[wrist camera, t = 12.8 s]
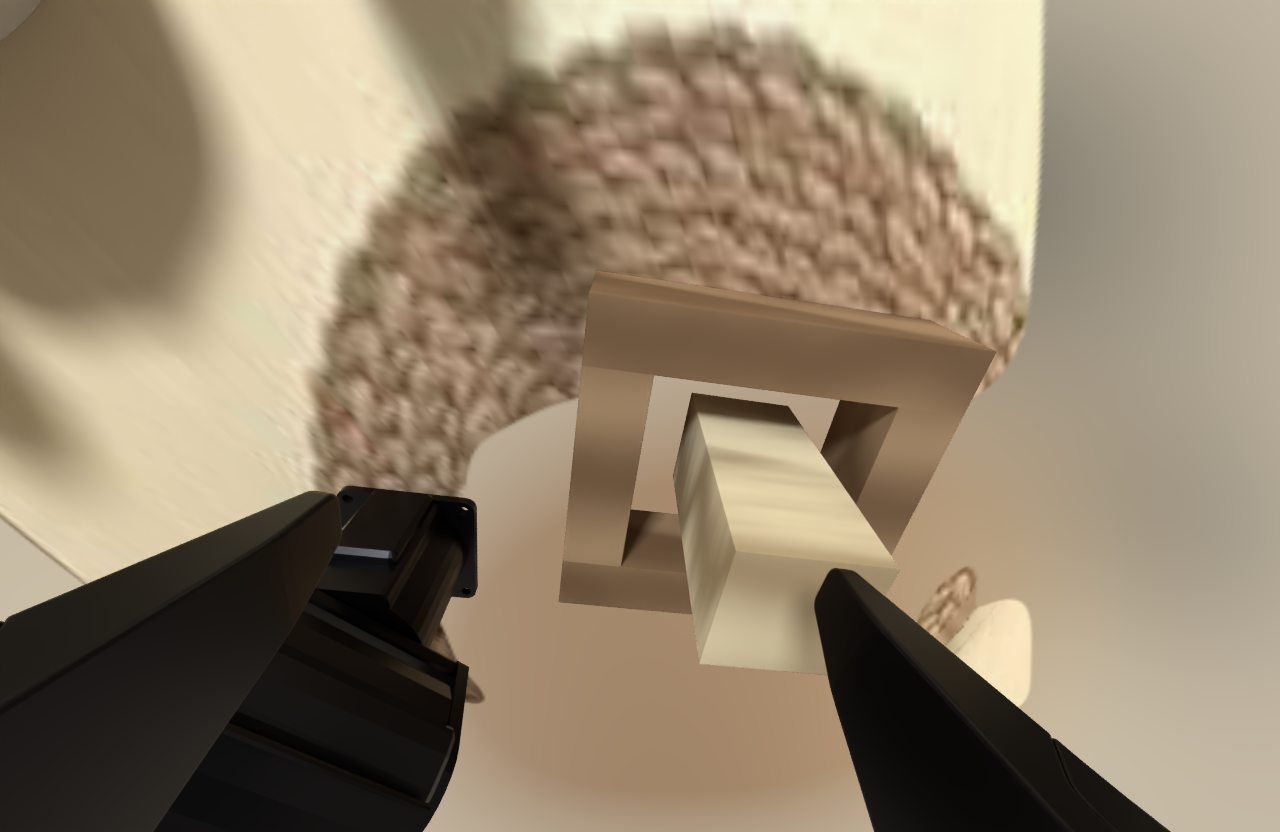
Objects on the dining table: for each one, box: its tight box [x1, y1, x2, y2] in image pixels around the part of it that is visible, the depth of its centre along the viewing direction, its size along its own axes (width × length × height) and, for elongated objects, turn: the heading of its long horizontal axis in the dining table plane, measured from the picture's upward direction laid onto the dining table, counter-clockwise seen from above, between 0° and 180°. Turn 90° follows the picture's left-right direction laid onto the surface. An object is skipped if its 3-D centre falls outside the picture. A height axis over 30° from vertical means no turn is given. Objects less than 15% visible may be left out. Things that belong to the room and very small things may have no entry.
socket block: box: [559, 271, 996, 614], centre depth 20 cm, size 14×14×4 cm
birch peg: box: [673, 393, 900, 675], centre depth 18 cm, size 4×4×10 cm
